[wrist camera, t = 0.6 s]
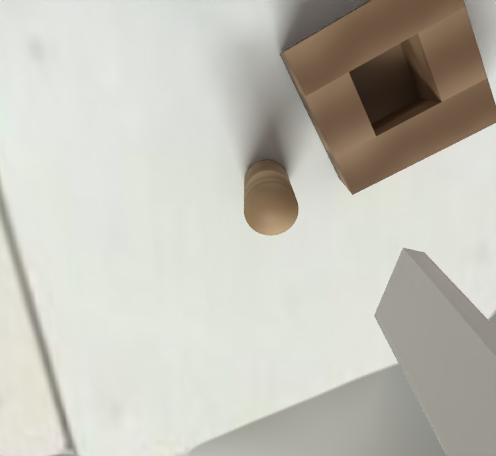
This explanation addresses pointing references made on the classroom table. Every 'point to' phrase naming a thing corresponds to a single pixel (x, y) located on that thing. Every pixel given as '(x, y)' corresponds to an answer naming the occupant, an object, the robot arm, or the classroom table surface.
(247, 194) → the oak dowel
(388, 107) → the socket block
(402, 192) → the classroom table surface
